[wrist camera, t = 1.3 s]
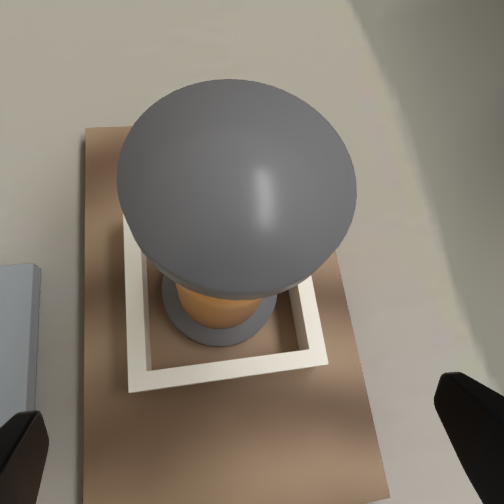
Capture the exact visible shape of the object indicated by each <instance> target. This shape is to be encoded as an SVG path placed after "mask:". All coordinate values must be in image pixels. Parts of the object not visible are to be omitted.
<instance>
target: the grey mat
mask: <svg viewBox="0 0 504 504" xmlns="http://www.w3.org/2000/svg"><path fill="white" fill-rule="evenodd" d="M40 280H41V268H39V267H38V266H37V265H35V264H34V263H29V264H17V265H6V266H0V427H1V426H2V425H4V424H5V423H6V422H7V421H8V420H9V419H10V418H11V417H12V416H14V415H15V414H16V413H18V412H23V411H34V410H35V390H36V368H37V346H38V324H39V302H40Z"/></svg>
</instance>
